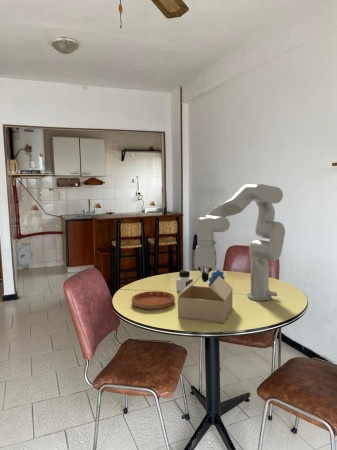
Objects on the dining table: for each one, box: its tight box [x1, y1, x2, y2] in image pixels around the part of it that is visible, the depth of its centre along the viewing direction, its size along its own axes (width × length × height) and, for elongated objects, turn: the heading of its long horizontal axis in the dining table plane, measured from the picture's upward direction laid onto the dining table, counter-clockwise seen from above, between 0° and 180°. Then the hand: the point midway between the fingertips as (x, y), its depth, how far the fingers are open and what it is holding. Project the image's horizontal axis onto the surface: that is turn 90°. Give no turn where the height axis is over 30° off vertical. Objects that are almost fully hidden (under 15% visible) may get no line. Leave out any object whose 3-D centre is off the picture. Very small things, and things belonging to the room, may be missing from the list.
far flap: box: [177, 274, 202, 297], centre depth 170 cm, size 9×19×1 cm
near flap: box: [210, 276, 234, 301], centre depth 165 cm, size 9×19×1 cm
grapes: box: [208, 269, 226, 287], centre depth 205 cm, size 12×7×12 cm, turn 122°
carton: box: [177, 285, 233, 324], centre depth 168 cm, size 22×20×10 cm
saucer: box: [131, 290, 176, 310], centre depth 184 cm, size 23×23×4 cm
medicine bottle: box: [175, 269, 194, 293], centre depth 204 cm, size 7×7×12 cm
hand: (205, 281), depth 167 cm, fingers closed
